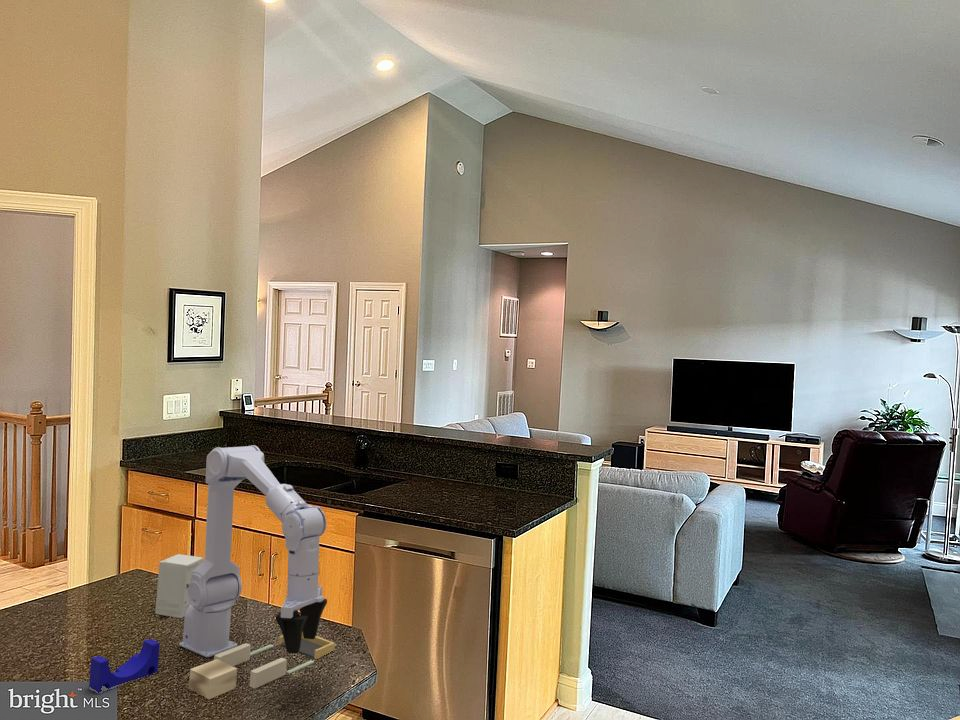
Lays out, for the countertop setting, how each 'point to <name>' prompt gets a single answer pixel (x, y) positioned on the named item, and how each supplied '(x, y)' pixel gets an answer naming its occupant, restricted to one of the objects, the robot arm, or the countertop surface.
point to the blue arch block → (125, 667)
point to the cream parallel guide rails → (258, 674)
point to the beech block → (212, 678)
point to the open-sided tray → (313, 646)
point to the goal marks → (288, 670)
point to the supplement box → (175, 584)
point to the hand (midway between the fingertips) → (301, 645)
